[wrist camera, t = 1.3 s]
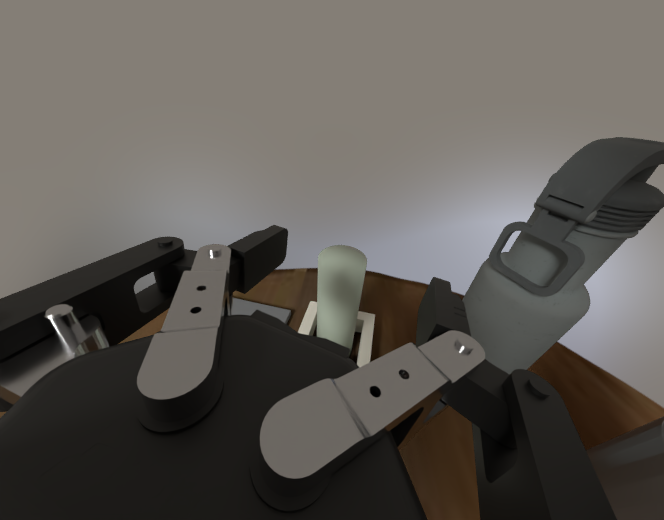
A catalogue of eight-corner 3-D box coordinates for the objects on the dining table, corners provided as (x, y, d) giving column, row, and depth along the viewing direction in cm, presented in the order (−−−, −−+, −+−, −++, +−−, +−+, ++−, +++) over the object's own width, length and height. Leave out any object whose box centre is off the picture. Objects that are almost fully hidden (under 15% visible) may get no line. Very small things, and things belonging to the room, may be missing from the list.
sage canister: (353, 336, 36) (369, 249, 26) (348, 368, 32) (363, 279, 22) (321, 329, 36) (325, 242, 27) (312, 359, 33) (312, 269, 23)
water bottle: (481, 405, 29) (722, 169, 12) (424, 340, 36) (526, 132, 19) (530, 371, 33) (767, 156, 16) (470, 318, 40) (590, 129, 23)
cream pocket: (372, 327, 37) (375, 314, 35) (364, 392, 29) (367, 380, 28) (310, 313, 39) (310, 301, 37) (288, 372, 31) (286, 359, 29)
